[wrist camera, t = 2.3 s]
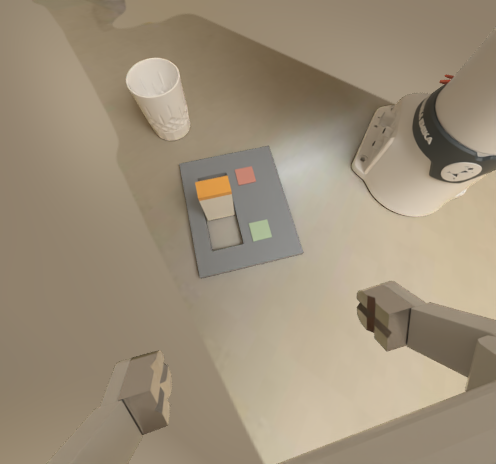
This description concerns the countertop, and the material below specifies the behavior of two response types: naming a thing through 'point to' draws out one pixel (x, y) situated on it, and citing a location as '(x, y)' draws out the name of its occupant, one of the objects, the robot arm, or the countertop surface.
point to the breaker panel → (242, 211)
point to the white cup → (160, 96)
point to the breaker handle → (215, 197)
